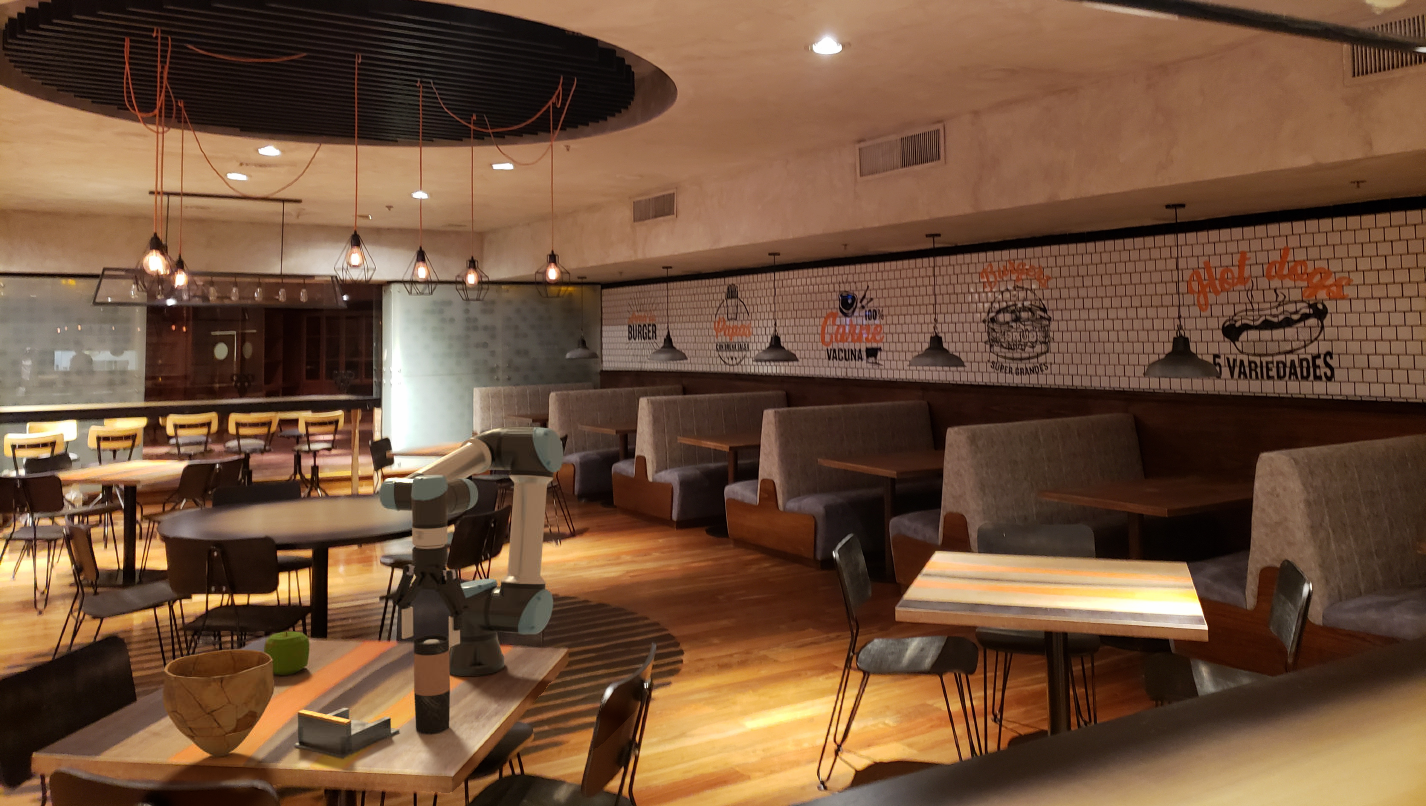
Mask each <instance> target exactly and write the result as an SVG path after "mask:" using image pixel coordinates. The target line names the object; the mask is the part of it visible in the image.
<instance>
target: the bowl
mask: <svg viewBox="0 0 1426 806" xmlns="http://www.w3.org/2000/svg"><path fill="white" fill-rule="evenodd" d="M272 661H273V659H272V658H271V657H270V655H268V654H266V653H264V651H261V650H253V649H251V650H250V649H238V648H237V649H222V650H216V651H208V652H202V653H199V654H191V655H186V656H183V657H182V656H181V657H178V658H175V659H173V660H171V661H170V662H168V663H167V664H165V667H164V668H163V674H164V679H163V682H164V683H163V688H162V689H163V690H162V701H163V703H162V704H163V707H164V710H165V711H166V713H167V715H168V717H169V719H170V720H171V722H172V723H173V724H174V726H175V727H176V729H177V730H178V731H179V732H180V733H181V734H182V735H183V736H185V737H186V738H187V739H189V740H190V741H191V742H192V743H193V744H194V745H195V746H196V747H198V748H199V749H200V750H202V752H204V753H206V754H208V755H210V756H212V757H221V758H222V757H224V756H227V755H228V754H230V753H231V752H233V751H235V750H236V749H237V748H238V747H239V746H240V745H242V743H243V742H244V741H245V740H246V739H247V737H248V736H249V735H250V733H251V732H252V731H253V730H254V728H255V726H256V725H257V723H258V722H260V719H261V718H262V716H263V714H264V713H265V712H266V709H267V707H268V705H269V704H270V702H271V699H272V697H273V695H274V693H275V691H274V690H275V681H274V680H275V679H274V673H273V663H272Z"/></svg>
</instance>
